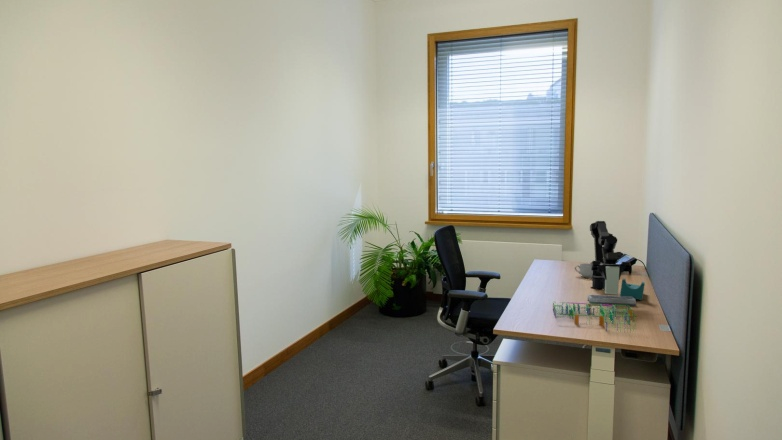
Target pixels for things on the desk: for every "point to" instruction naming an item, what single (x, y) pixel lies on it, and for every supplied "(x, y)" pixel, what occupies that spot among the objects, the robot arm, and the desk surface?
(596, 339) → the desk surface
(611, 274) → the door panel
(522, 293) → the desk surface
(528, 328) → the desk surface
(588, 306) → the house model
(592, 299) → the door track
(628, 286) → the teal curved piece
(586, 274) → the teacup
